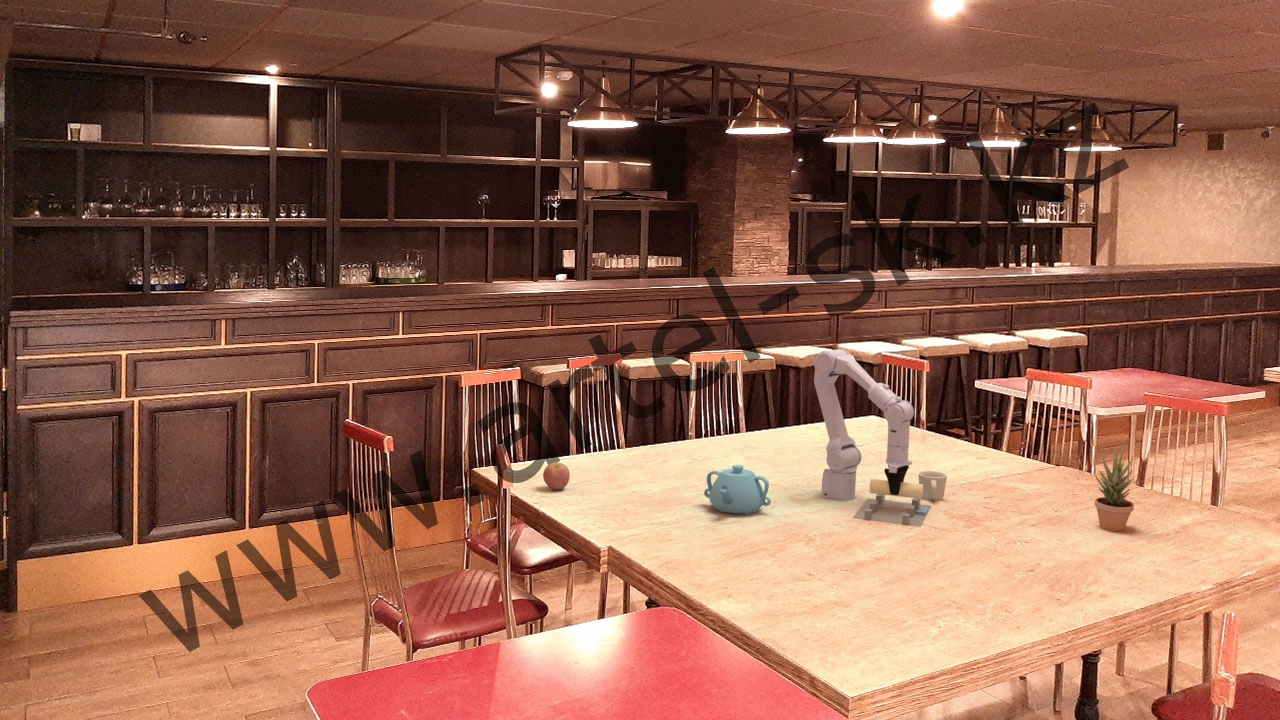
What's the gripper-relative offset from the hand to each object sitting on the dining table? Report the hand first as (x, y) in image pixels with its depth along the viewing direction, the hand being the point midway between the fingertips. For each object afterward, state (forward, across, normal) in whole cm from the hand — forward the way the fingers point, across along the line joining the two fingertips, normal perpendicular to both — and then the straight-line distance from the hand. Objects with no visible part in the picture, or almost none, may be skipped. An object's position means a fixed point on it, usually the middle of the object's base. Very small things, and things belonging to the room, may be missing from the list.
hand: (895, 492), depth 287 cm
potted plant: (+6, +11, -56) cm, 57 cm away
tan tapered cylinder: (+1, 0, 0) cm, 1 cm away
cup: (+6, +16, -8) cm, 19 cm away
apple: (+6, -20, +96) cm, 98 cm away
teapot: (+6, -19, +41) cm, 46 cm away
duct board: (+6, -3, 0) cm, 6 cm away
